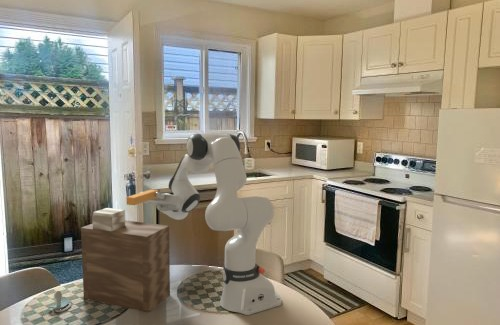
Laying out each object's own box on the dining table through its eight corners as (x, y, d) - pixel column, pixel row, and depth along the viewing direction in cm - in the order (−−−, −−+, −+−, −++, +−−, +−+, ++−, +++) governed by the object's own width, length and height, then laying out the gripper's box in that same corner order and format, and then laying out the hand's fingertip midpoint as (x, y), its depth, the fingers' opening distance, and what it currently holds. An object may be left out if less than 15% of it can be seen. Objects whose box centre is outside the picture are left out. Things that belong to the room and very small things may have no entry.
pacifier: (75, 304, 137) (60, 302, 138) (75, 288, 137) (60, 286, 138) (62, 315, 130) (46, 312, 131) (61, 297, 129) (46, 295, 130)
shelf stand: (109, 283, 154) (106, 203, 150) (169, 294, 145) (168, 209, 141) (83, 298, 141) (80, 211, 137) (148, 312, 132) (146, 219, 128)
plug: (152, 195, 168) (152, 189, 167) (159, 196, 166) (159, 189, 166) (126, 204, 151) (126, 196, 150) (134, 205, 150) (134, 197, 149)
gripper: (148, 194, 180) (132, 184, 168) (187, 198, 173) (173, 188, 161) (145, 207, 178) (128, 198, 166) (184, 212, 171) (169, 202, 159)
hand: (151, 193), depth 163 cm, fingers closed on plug, 3 cm apart
